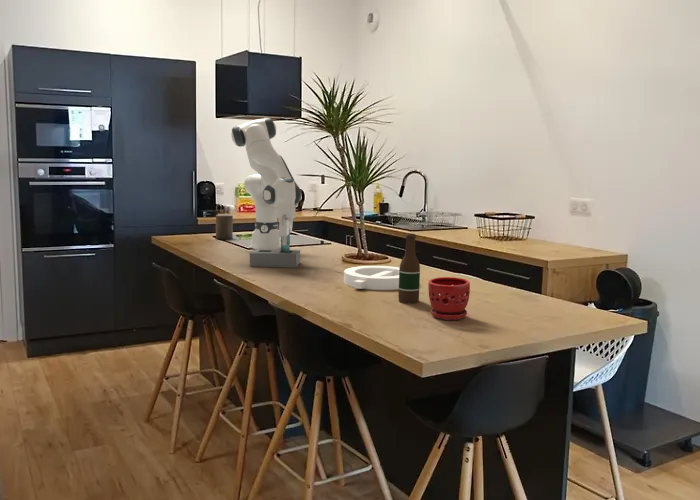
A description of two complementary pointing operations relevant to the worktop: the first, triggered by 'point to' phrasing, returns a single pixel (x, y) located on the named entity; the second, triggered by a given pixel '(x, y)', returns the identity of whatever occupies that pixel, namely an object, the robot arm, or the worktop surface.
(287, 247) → the teal peg
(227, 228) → the pillar candle
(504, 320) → the worktop surface
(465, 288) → the plant pot
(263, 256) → the socket block
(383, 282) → the ring with crossbar
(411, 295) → the beer bottle
